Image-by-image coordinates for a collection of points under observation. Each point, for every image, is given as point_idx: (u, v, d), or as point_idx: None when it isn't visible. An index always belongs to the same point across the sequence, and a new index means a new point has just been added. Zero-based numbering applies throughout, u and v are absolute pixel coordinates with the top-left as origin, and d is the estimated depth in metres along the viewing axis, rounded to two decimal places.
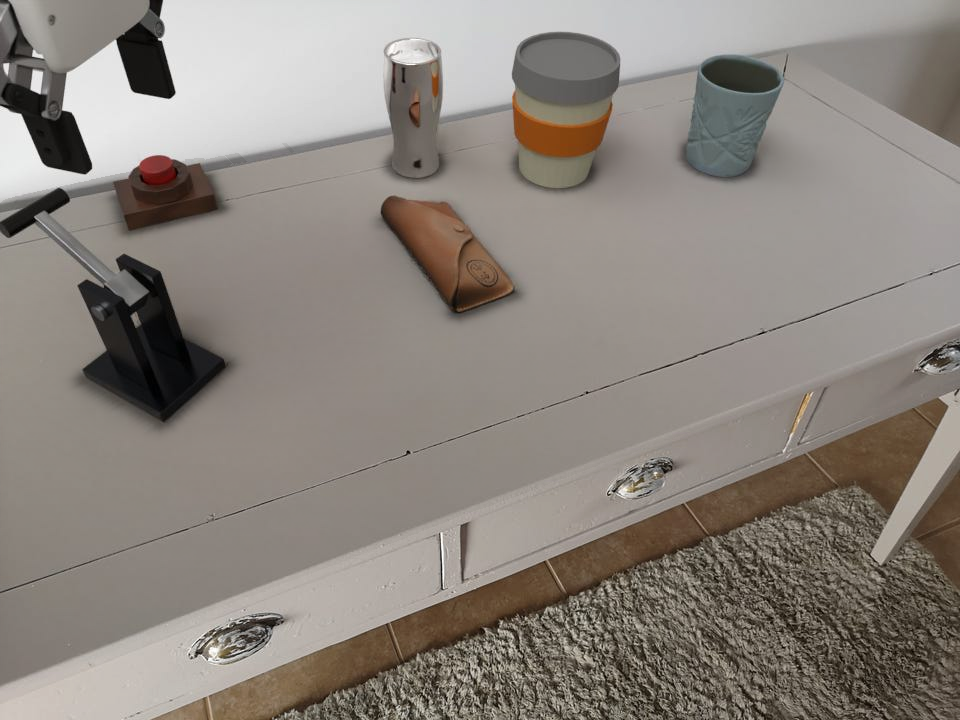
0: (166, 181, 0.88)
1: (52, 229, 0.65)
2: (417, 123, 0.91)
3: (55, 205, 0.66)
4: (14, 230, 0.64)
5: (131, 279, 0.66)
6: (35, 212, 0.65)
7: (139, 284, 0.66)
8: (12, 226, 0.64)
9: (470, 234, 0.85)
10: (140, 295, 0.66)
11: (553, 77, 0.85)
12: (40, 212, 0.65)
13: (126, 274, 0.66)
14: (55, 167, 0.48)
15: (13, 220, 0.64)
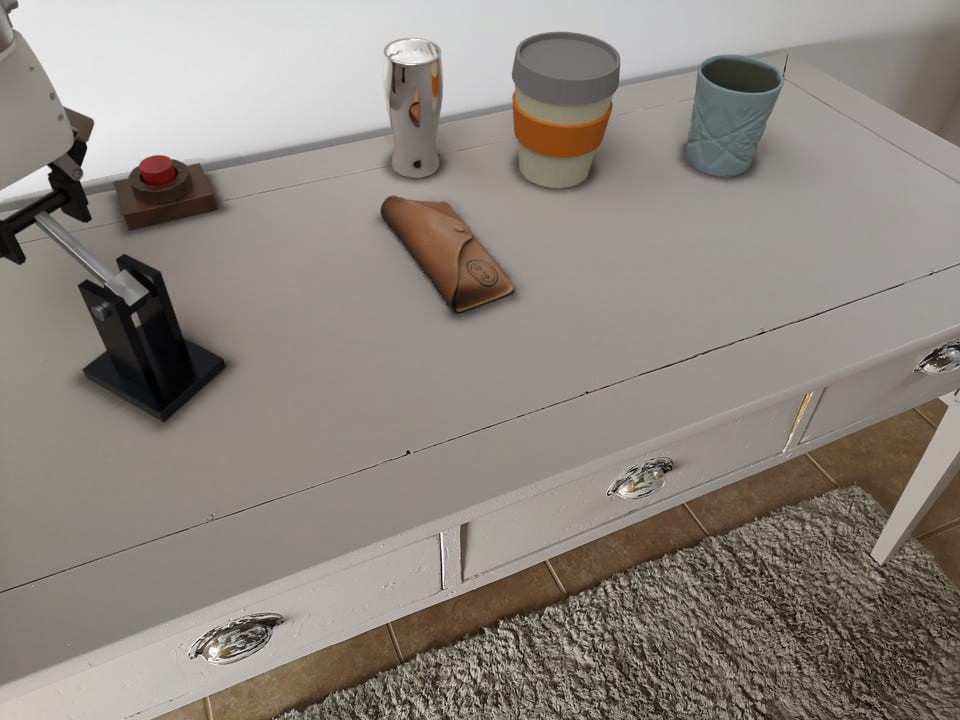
0: (166, 181, 0.88)
1: (52, 229, 0.65)
2: (417, 123, 0.91)
3: (55, 205, 0.66)
4: (14, 230, 0.64)
5: (131, 279, 0.66)
6: (35, 212, 0.65)
7: (139, 284, 0.66)
8: (12, 226, 0.64)
9: (470, 234, 0.85)
10: (140, 295, 0.66)
11: (553, 77, 0.85)
12: (40, 212, 0.65)
13: (126, 274, 0.66)
14: None
15: (13, 220, 0.64)
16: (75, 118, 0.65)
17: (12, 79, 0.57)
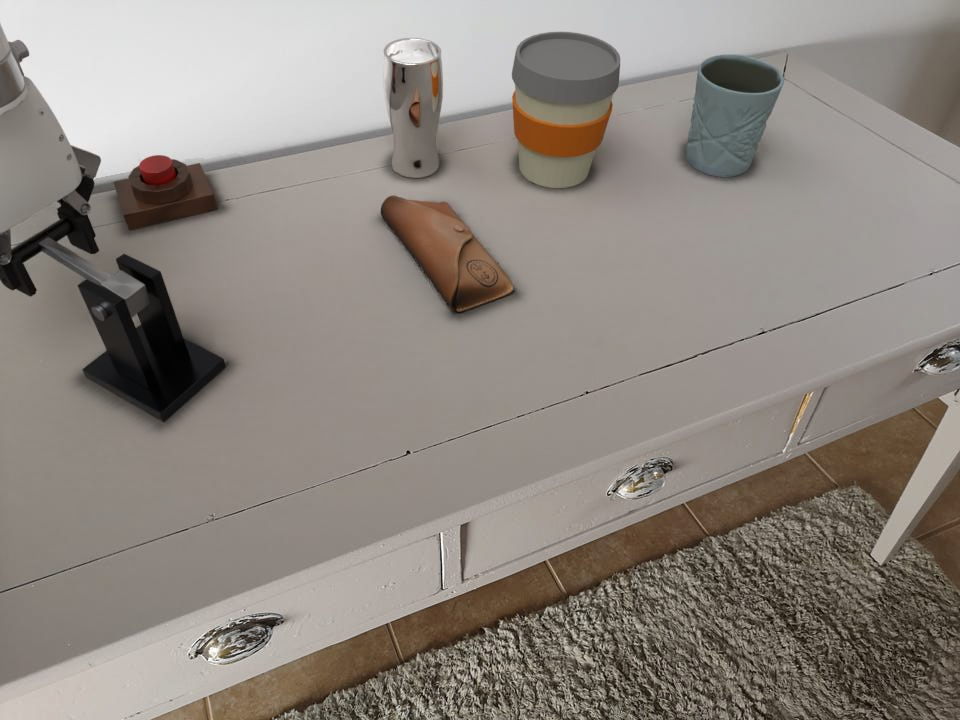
0: (166, 181, 0.88)
1: (54, 250, 0.67)
2: (417, 123, 0.91)
3: (59, 232, 0.69)
4: (20, 257, 0.67)
5: (127, 277, 0.66)
6: (39, 239, 0.68)
7: (135, 280, 0.66)
8: (17, 253, 0.66)
9: (470, 234, 0.85)
10: (136, 289, 0.65)
11: (553, 77, 0.85)
12: (44, 238, 0.68)
13: (122, 273, 0.66)
14: None
15: (18, 247, 0.67)
16: (83, 156, 0.68)
17: (23, 124, 0.60)
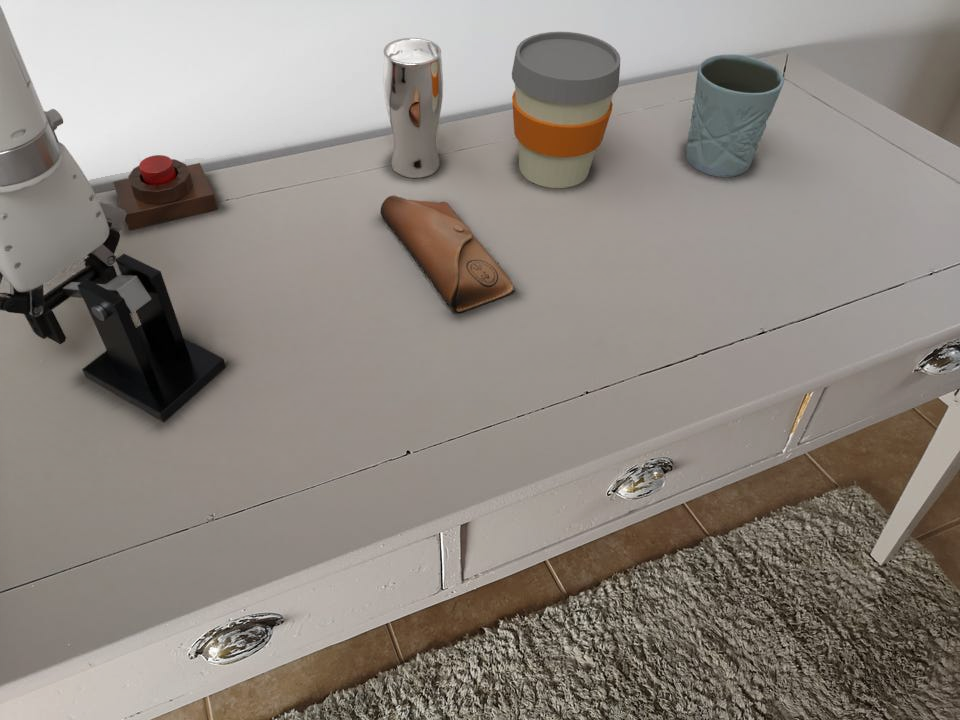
0: (166, 181, 0.88)
1: (73, 287, 0.70)
2: (417, 123, 0.91)
3: (81, 276, 0.72)
4: (45, 302, 0.70)
5: (123, 276, 0.66)
6: (64, 285, 0.72)
7: (129, 276, 0.66)
8: None
9: (470, 234, 0.85)
10: (128, 281, 0.65)
11: (553, 77, 0.85)
12: (67, 283, 0.72)
13: (119, 276, 0.67)
14: None
15: (44, 295, 0.70)
16: (110, 211, 0.72)
17: (58, 188, 0.64)
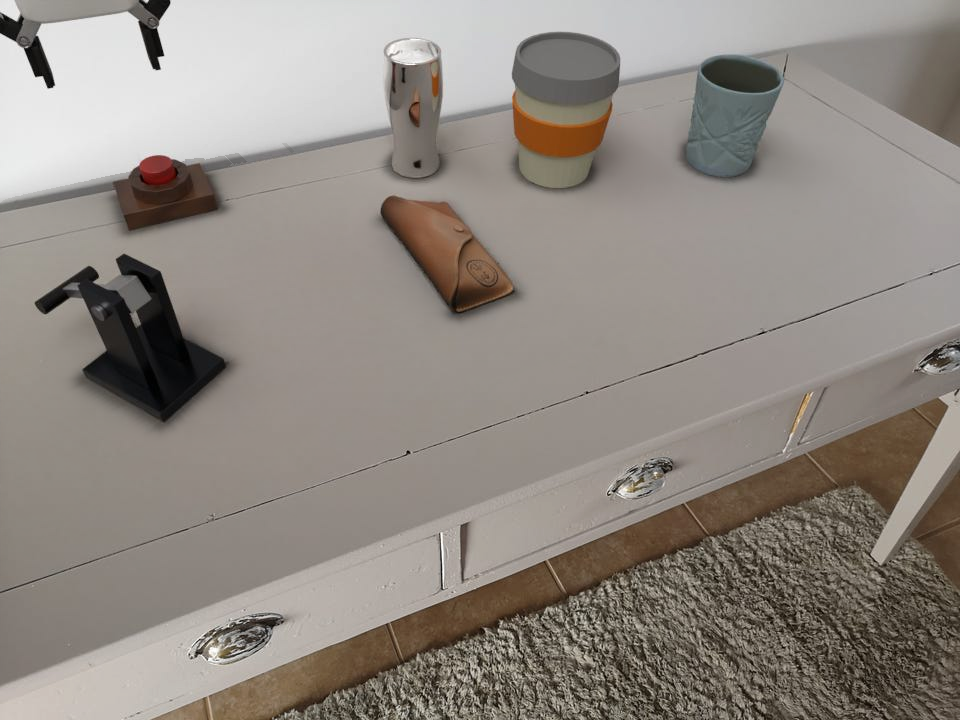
0: (166, 181, 0.88)
1: (73, 287, 0.70)
2: (417, 123, 0.91)
3: (82, 277, 0.73)
4: (46, 302, 0.70)
5: (123, 276, 0.66)
6: (64, 286, 0.72)
7: (129, 276, 0.66)
8: (43, 299, 0.70)
9: (470, 234, 0.85)
10: (128, 281, 0.65)
11: (553, 77, 0.85)
12: (67, 284, 0.72)
13: (119, 276, 0.67)
14: None
15: (44, 295, 0.71)
16: None
17: None
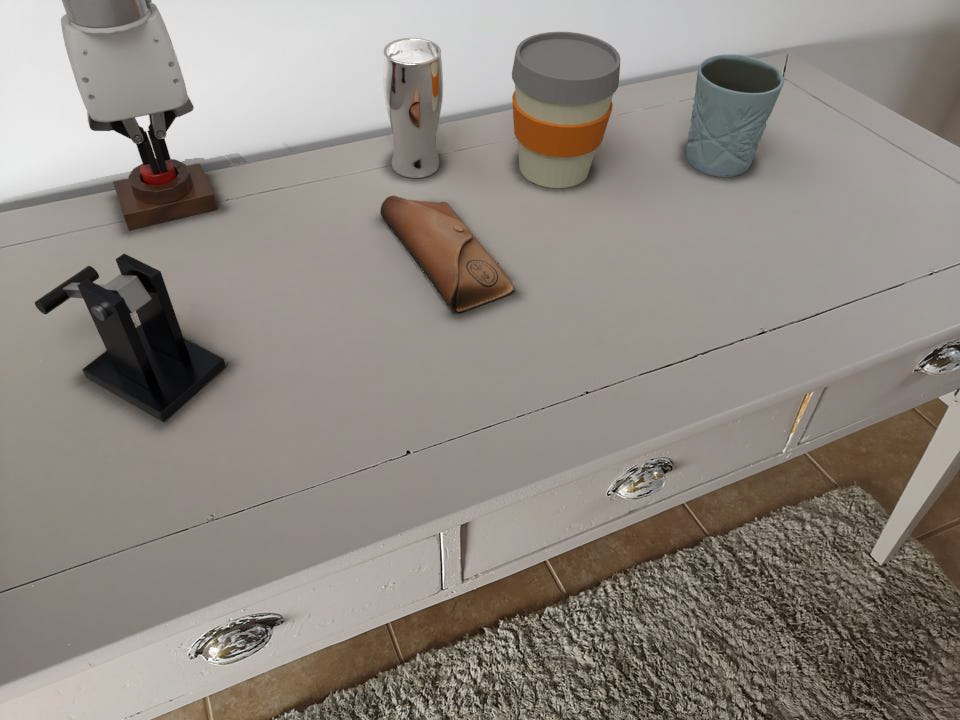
0: None
1: (73, 287, 0.70)
2: (417, 123, 0.91)
3: (82, 277, 0.73)
4: (46, 302, 0.70)
5: (123, 276, 0.66)
6: (64, 286, 0.72)
7: (129, 276, 0.66)
8: (43, 299, 0.70)
9: (470, 234, 0.85)
10: (128, 281, 0.65)
11: (553, 77, 0.85)
12: (67, 284, 0.72)
13: (119, 276, 0.67)
14: None
15: (44, 295, 0.71)
16: None
17: (137, 45, 0.76)
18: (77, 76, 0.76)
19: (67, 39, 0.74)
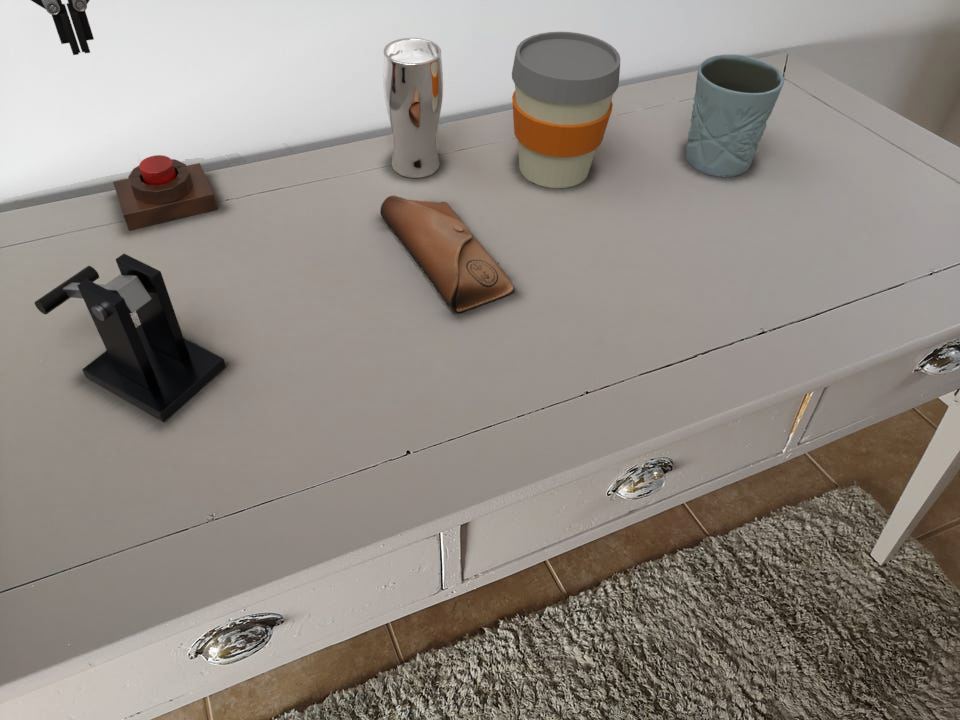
0: (166, 181, 0.88)
1: (73, 287, 0.70)
2: (417, 123, 0.91)
3: (82, 277, 0.73)
4: (46, 302, 0.70)
5: (123, 276, 0.66)
6: (64, 286, 0.72)
7: (129, 276, 0.66)
8: (43, 299, 0.70)
9: (470, 234, 0.85)
10: (128, 281, 0.65)
11: (553, 77, 0.85)
12: (67, 284, 0.72)
13: (119, 276, 0.67)
14: None
15: (44, 295, 0.71)
16: None
17: None
18: None
19: None
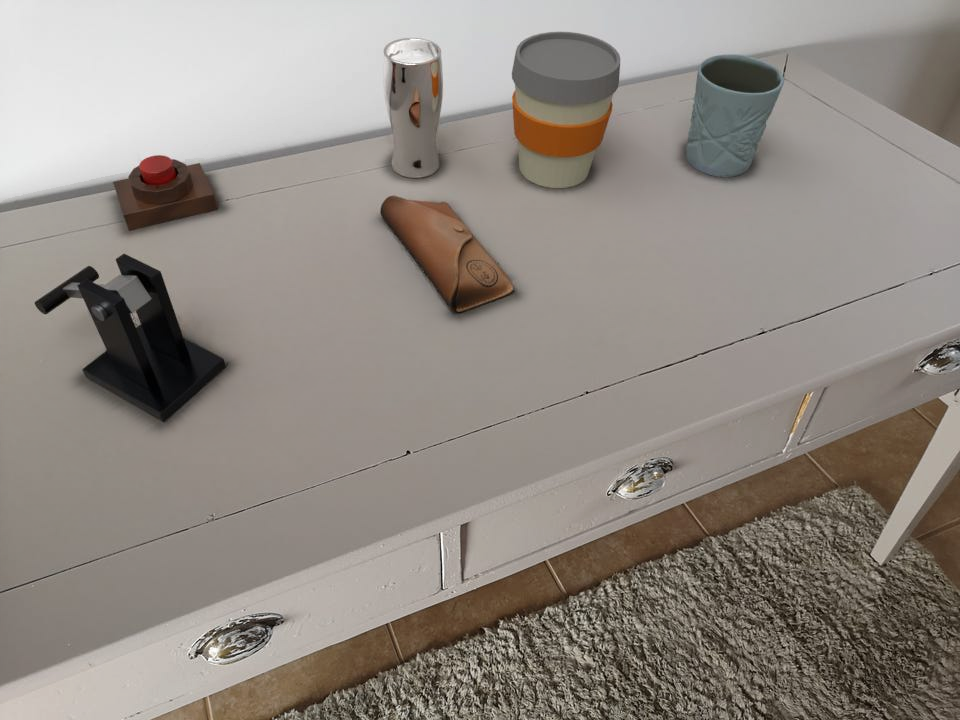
0: (166, 181, 0.88)
1: (73, 287, 0.70)
2: (417, 123, 0.91)
3: (82, 277, 0.73)
4: (46, 302, 0.70)
5: (123, 276, 0.66)
6: (64, 286, 0.72)
7: (129, 276, 0.66)
8: (43, 299, 0.70)
9: (470, 234, 0.85)
10: (128, 281, 0.65)
11: (553, 77, 0.85)
12: (67, 284, 0.72)
13: (119, 276, 0.67)
14: None
15: (44, 295, 0.71)
16: None
17: None
18: None
19: None
